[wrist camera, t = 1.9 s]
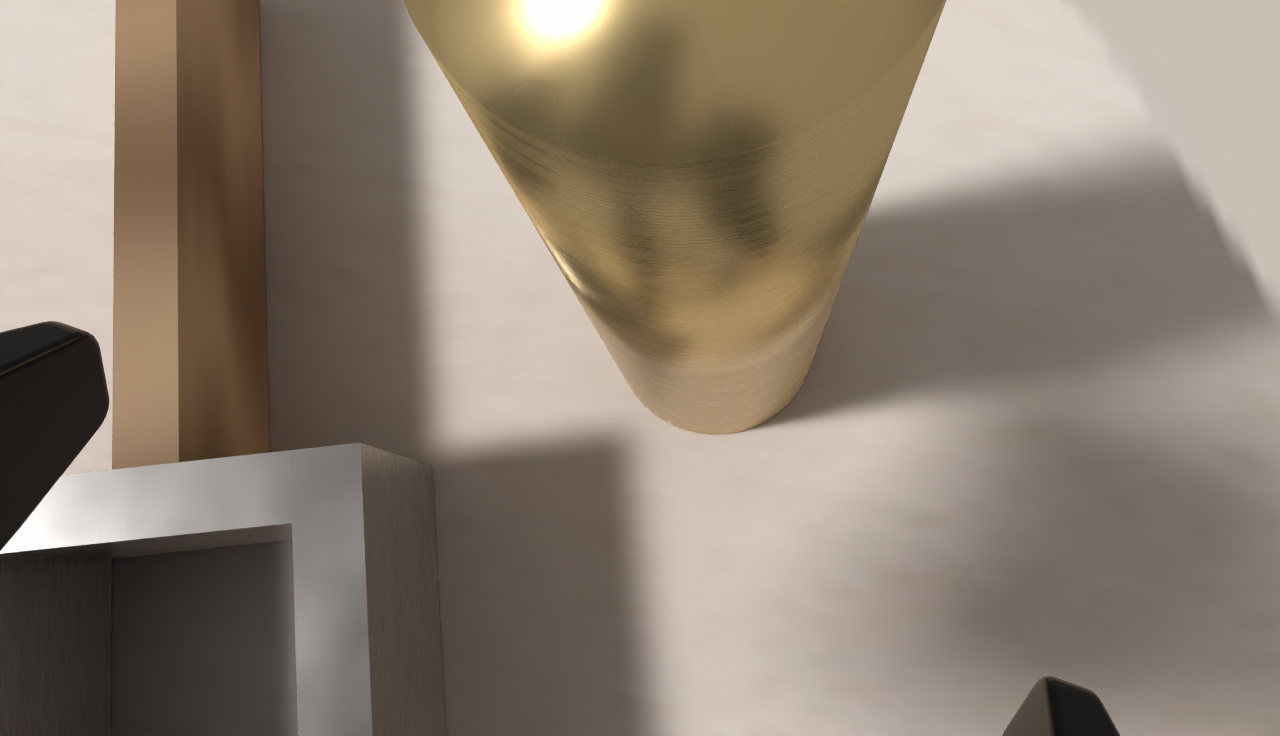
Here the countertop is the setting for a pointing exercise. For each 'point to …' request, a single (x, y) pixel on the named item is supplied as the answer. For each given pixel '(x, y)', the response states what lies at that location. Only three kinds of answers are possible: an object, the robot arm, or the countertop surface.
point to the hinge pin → (692, 169)
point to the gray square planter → (229, 516)
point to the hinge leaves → (188, 234)
